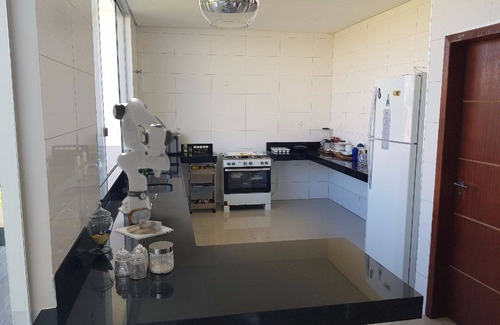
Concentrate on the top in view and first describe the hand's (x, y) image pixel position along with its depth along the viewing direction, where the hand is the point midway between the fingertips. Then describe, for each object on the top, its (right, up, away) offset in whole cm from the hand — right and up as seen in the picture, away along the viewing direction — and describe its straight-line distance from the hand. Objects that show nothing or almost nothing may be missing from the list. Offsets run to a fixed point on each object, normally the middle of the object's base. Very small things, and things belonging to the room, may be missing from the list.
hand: (157, 177), depth 222 cm
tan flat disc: (-4, -28, -13) cm, 31 cm away
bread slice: (-11, -27, +5) cm, 29 cm away
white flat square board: (-4, -29, -13) cm, 32 cm away
